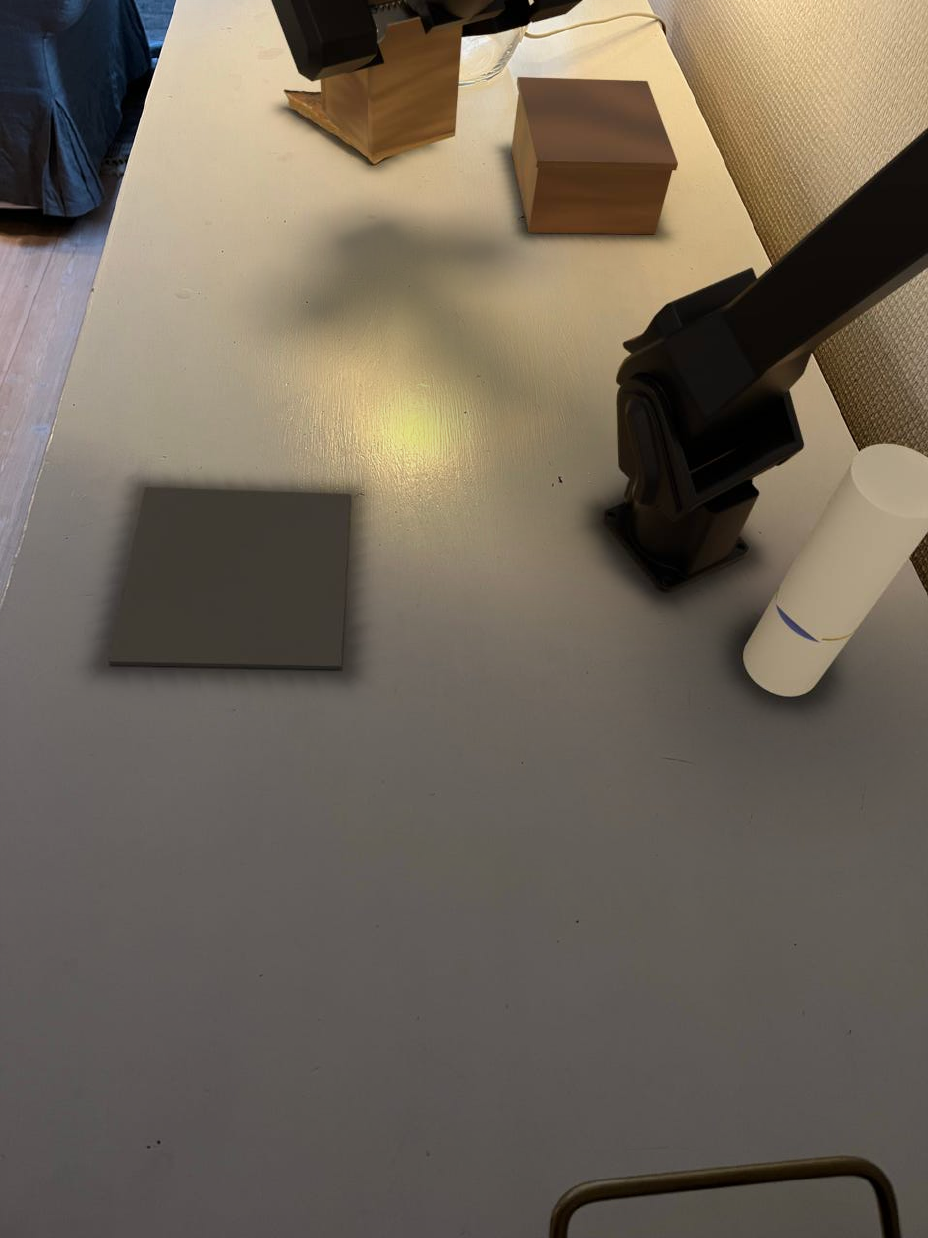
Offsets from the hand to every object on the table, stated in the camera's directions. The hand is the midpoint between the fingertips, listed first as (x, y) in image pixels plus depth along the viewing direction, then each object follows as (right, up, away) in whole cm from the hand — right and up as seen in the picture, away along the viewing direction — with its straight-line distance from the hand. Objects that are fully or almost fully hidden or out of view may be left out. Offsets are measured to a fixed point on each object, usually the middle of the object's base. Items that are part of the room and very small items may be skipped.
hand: (377, 42), depth 62 cm
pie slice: (-3, +3, +19) cm, 19 cm away
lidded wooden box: (+15, -2, +17) cm, 22 cm away
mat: (-7, -34, -7) cm, 35 cm away
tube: (+23, -39, -7) cm, 46 cm away
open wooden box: (0, -4, +3) cm, 5 cm away
